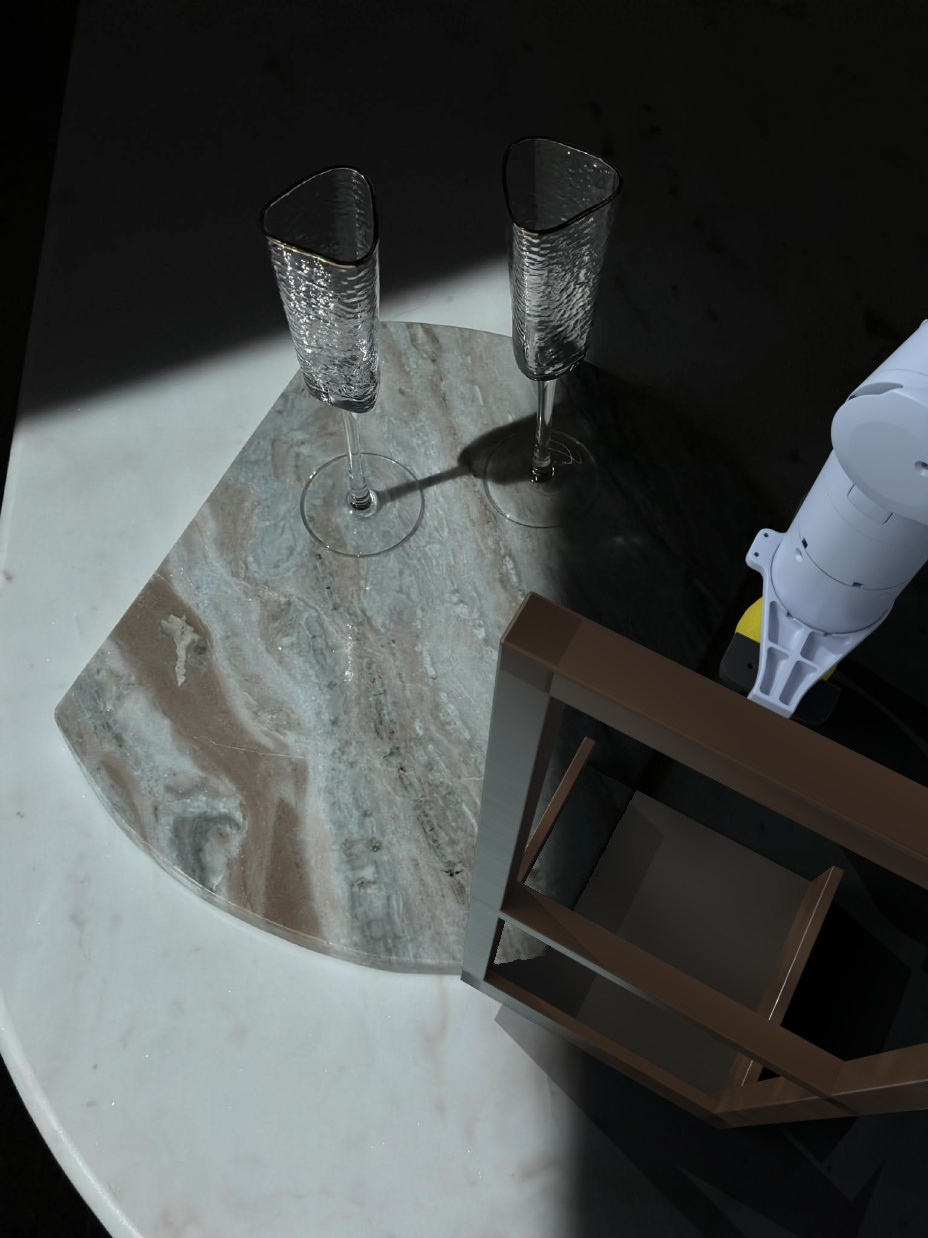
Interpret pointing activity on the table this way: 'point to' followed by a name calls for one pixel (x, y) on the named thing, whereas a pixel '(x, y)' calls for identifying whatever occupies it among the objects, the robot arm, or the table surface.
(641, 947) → the rack
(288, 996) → the table surface
